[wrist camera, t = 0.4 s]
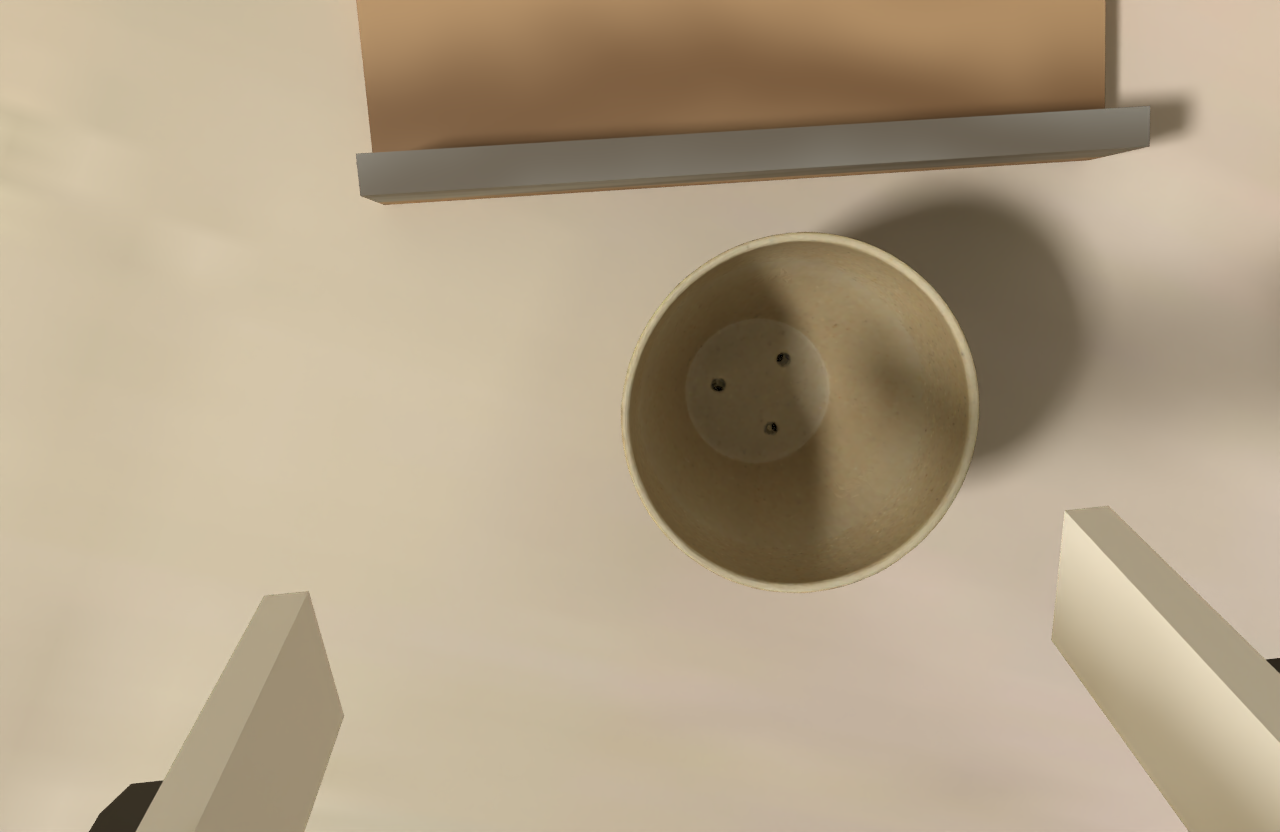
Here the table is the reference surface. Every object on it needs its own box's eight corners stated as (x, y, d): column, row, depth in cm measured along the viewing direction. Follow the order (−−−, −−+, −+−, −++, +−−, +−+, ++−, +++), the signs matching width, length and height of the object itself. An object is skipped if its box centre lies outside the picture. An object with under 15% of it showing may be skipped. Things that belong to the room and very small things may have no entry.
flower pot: (945, 325, 33) (1046, 338, 26) (808, 572, 34) (870, 650, 27) (695, 189, 32) (730, 164, 25) (560, 449, 33) (557, 497, 26)
